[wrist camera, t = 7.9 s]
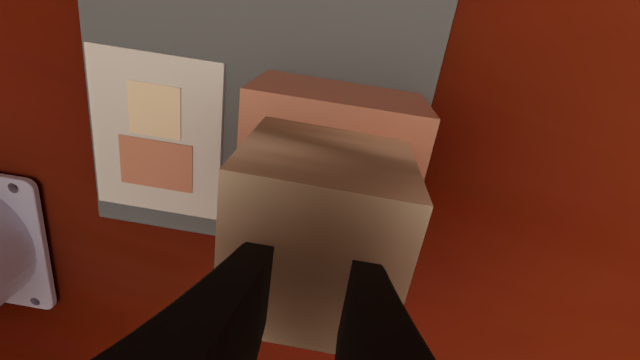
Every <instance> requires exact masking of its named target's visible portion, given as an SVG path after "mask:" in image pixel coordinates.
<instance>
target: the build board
mask: <svg viewBox="0 0 640 360" xmlns="http://www.w3.org/2000/svg"><path fill="white" fill-rule="evenodd" d="M457 2H458V0H78V7H79V17H80V27H81V37H82V47H83V57H84V67H85V77H86V87H87V97H88V107H89V117H90V127H91V138H92V148H93V158H94V168H95V178H96V188H97V198H98V208H99V216H100V217H106V218H112V219H118V220H124V221H130V222H136V223H142V224H148V225H154V226H160V227H166V228H172V229H178V230H183V231H189V232H195V233H201V234H207V235H213V236H216V220H214V219H208V218H202V217H196V216H190V215H184V214H178V213H172V212H166V211H160V210H154V209H148V208H142V207H136V206H130V205H124V204H118V203H112V202H106V201H100V200H99V194H98V184H97V174H96V164H95V153H94V143H93V133H92V123H91V113H90V102H89V92H88V82H87V72H86V62H85V51H84V42H85V41H88V42H94V43H101V44H107V45H114V46H120V47H126V48H133V49H139V50H146V51H152V52H159V53H165V54H171V55H178V56H184V57H191V58H197V59H204V60H210V61H216V62H223V63H226V64H225V89H224V114H223V139H222V164H221V166H222V165H223V164H224V163H225V162H226V161H227V159H228V158H229V157H230V156H231V155H232V154H233V153H234V151H235V150H236V149H237V136H238V118H239V100H240V88H241V87H242V86H244V85H246V84H247V83H249V82H250V81H252V80H253V79H255V78H256V77H258V76H259V75H261V74H262V73H264V72H265V71H267V70H274V71H281V72H287V73H293V74H300V75H306V76H313V77H319V78H325V79H332V80H338V81H345V82H351V83H358V84H364V85H370V86H377V87H383V88H390V89H396V90H403V91H409V92H415V93H421V94H422V95H423V97H424V98H425V99H426V101H427V102H428V103H429V105H430V106H431V105H432V101H433V97H434V93H435V89H436V85H437V81H438V77H439V73H440V69H441V65H442V61H443V58H444V54H445V50H446V46H447V42H448V38H449V34H450V30H451V26H452V22H453V18H454V14H455V10H456V6H457Z"/></svg>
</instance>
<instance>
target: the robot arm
mask: <svg viewBox="0 0 640 360" xmlns="http://www.w3.org/2000/svg"><path fill="white" fill-rule="evenodd" d="M14 184H15V185H16V186H17V187H18V189H17V188H16V187H15V185H14ZM273 254H274V246H268V245H262V244H257V243H251V242H245V243H243V244H242V245H240V246H239V247H238V248H237V249H236V250H235V251H234V252H232V253H231V254H230V255H229V256H228V257H227V258H226V259H225V260H224V261H222V262H221V263H220V264H219V265H218V266H217V267H216V268H214V269H213V270H212V271H211V272H210V273H209V274H207V275H206V276H205V277H204V278H203V279H201V280H200V281H199V282H198V283H196V284H195V285H194V286H193V287H192V288H190V289H189V290H188V291H187V292H185V293H184V294H183V295H182V296H180V297H179V298H178V299H177V300H175V301H174V302H173V303H171V304H170V305H169V306H167V307H166V308H165V309H163V310H162V311H161V312H159V313H158V314H156V315H155V316H154V317H152V318H151V319H150V320H148V321H147V322H145V323H144V324H143V325H141V326H140V327H139V328H137V329H136V330H135V331H133V332H132V333H130V334H129V335H127V336H126V337H124V338H123V339H121V340H120V341H118V342H117V343H115V344H114V345H112V346H111V347H109V348H108V349H106V350H105V351H103V352H102V353H100V354H99V355H97V356H95V357H94V358H92V359H91V360H257V356H258V352H259V348H260V345H261V341H262V337H263V333H264V329H265V325H266V319H267V310H268V301H269V292H270V282H271V273H272V264H273ZM5 302H6V303H11V304H17V305H23V306H28V307H34V308H40V309H48V310H49V309H51V308H52V307H53V306H54V305H55V304H56V303H57V298H56V292H55V286H54V280H53V274H52V268H51V262H50V256H49V250H48V244H47V238H46V232H45V226H44V220H43V213H42V207H41V201H40V195H39V189H38V186H37V184H36V183H35V182H34V181H33V180H32V179H29V178H26V177H20V176H14V175H8V174H2V173H0V306H1V305H2V304H4V303H5ZM335 360H436V359H435V357H434V356H433V354H432V353H431V351H430V350H429V348H428V346H427V345H426V343H425V341H424V340H423V338H422V336H421V335H420V333H419V331H418V330H417V328H416V326H415V325H414V323H413V321H412V319H411V318H410V316H409V314H408V312H407V311H406V309H405V307H404V305H403V303H402V301H401V299H400V298H399V296H398V294H397V292H396V290H395V288H394V286H393V284H392V282H391V280H390V278H389V276H388V274H387V272H386V270H385V268H384V267H383V266H382V265H381V264H375V263H369V262H363V261H357V260H352V265H351V270H350V275H349V280H348V285H347V290H346V294H345V299H344V304H343V309H342V314H341V319H340V324H339V329H338V333H337V343H336V353H335Z"/></svg>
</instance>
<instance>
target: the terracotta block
mask: <svg viewBox="0 0 640 360" xmlns="http://www.w3.org/2000/svg"><path fill="white" fill-rule="evenodd" d="M265 116H267V117H273V118H279V119H285V120H291V121H297V122H302V123H308V124H314V125H320V126H326V127H332V128H337V129H343V130H349V131H355V132H361V133H367V134H372V135H378V136H384V137H390V138H396V139H402V140H408V141H409V143H410V146H411V149H412V151H413V154H414V157H415V159H416V162H417V165H418V167H419V170H420V173H421V175H422V178H423V180H424V179H425V176H426V172H427V168H428V164H429V161H430V157H431V153H432V149H433V146H434V142H435V138H436V134H437V131H438V127H439V123H440V118H439V117H438V116H437V114H436V113H435V112H434V110H433V109H432V107H431V106H430V105H429V103H428V102H427V101H426V99H425V98H424V97H423V95H422V94H421V93H415V92H409V91H403V90H396V89H390V88H383V87H377V86H370V85H364V84H358V83H351V82H345V81H338V80H332V79H325V78H319V77H313V76H306V75H300V74H293V73H287V72H281V71H274V70H267V71H265V72H264V73H262V74H261V75H259V76H258V77H256V78H255V79H253V80H252V81H250V82H249V83H247V84H246V85H244V86H242V87H241V88H240V100H239V118H238V136H237V148H238V147H239V146H240V145H241V144H242V142H243V141H244V140H245V139H246V138H247V137H248V136H249V134H250V133H251V132H252V131H253V130H254V129H255V128H256V126H257V125H258V124H259V123H260V122H261V121H262V120H263V119H264V117H265Z"/></svg>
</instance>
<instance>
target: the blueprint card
mask: <svg viewBox="0 0 640 360" xmlns="http://www.w3.org/2000/svg"><path fill="white" fill-rule="evenodd" d="M84 51H85V62H86V72H87V82H88V92H89V102H90V113H91V123H92V133H93V143H94V153H95V164H96V174H97V184H98V194H99V200H100V201H106V202H112V203H118V204H124V205H130V206H136V207H142V208H148V209H154V210H160V211H166V212H172V213H178V214H184V215H190V216H196V217H202V218H208V219H214V220H216V218H217V198H218V179H219V169H220V167H221V164H222V139H223V114H224V89H225V64H226V63H223V62H216V61H210V60H204V59H197V58H191V57H184V56H178V55H171V54H165V53H159V52H152V51H146V50H139V49H133V48H126V47H120V46H114V45H107V44H101V43H94V42H88V41H85V42H84Z"/></svg>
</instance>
